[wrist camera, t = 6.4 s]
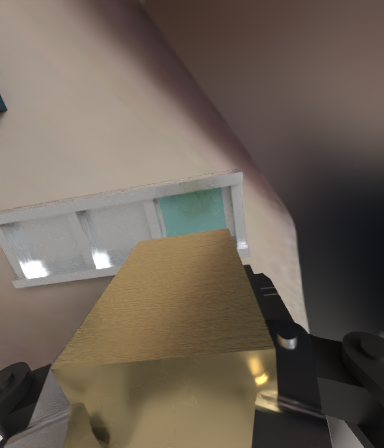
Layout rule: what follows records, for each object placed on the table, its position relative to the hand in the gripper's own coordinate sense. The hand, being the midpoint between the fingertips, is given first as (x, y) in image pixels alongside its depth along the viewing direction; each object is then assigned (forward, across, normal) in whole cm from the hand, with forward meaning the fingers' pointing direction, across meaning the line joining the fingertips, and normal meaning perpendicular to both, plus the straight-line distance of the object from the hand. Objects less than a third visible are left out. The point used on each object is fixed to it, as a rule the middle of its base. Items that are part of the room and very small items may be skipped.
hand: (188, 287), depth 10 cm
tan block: (+1, 0, 0) cm, 1 cm away
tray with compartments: (+12, +8, 0) cm, 15 cm away
